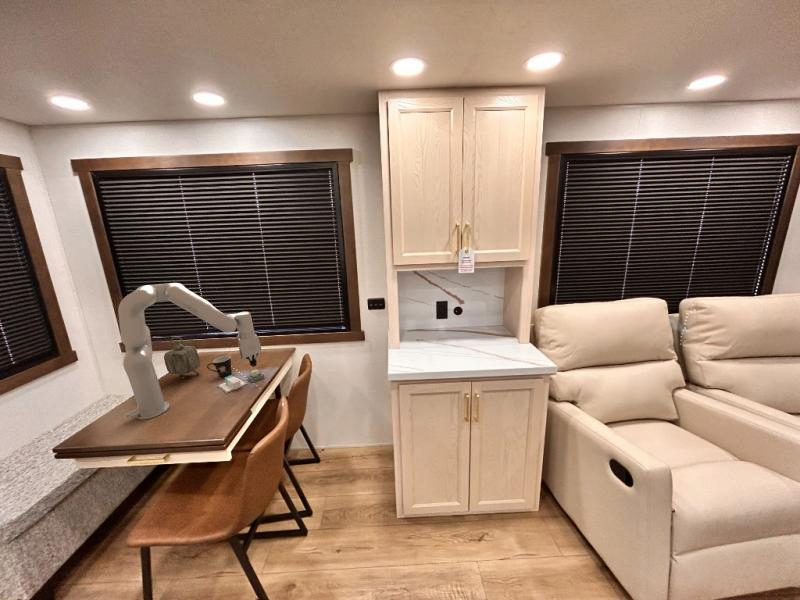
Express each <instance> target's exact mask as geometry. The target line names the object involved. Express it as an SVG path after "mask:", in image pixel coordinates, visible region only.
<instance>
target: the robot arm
mask: <svg viewBox="0 0 800 600" xmlns="http://www.w3.org/2000/svg"><path fill="white" fill-rule="evenodd" d="M163 302H171V303H173V304H174V305H176V306H177V307H179V308H181V309H183V310H185V311H187V312H189V313H190V314H192V315H194V316H196V317H197V318H198V319H200V320H202V321H204V322H206V324H207V323H208V324H209V325H211V326H212V327H214V328H216V329H218V330H219V331H222V332H224V333H228V334H229V333H234V332H235V331H236V330H237V332H238V333H237V335H236V336H235V337H236V339H238V350H239V355H240V359H241V360H248V361H249V365H250V366H251V367H257V363H258V362H257V358H258V355H260V354H261V353H262V351H263V349H262V345H261V342H260V340H259V337H258V335H257V334H256V333H255V328H254V324H253V320H252V315H251V312H249V311H241V312H238V313H231V314H225V313H223V312H221V310H219V309H217V308H216V307H215V306H213V304H212V303H210V302H209V301H208V300H207V299H205V298H203V297H201V296H200V295H199V294H197V293H195V292H193V291H191V290H189V289H188V288H187V287H185V285H184V284H182V283H180V282H179V283H178V282H172V283H171V282H169V283H159V284H146V285H142V286H139V287H137V288H136V289H135V290H134V291H132V292H131V293H129V294H127V295H126V296H125V297H124V298H122V299H121V301H120V303H119V305H118V322H119V329H120V330H119V331H120V340H121V342H122V344H123V345H124V347H125V356H124V358H123V361H122V367H123V369H124V371H125V373H126V376H127V378H128V381H129V383H130V387H131V389H132V392H133V396H134V399H135V402H136V404H137V406H136V408H135V409H133V410H131V411H129V412H125V416H126V418H133V417H136V419H137V420H140V421H141V420H149V419H153V418H155V417H158V416H160V415H162V414H164V413H166V411H168V410H169V409H170V407H171V405H170V402H168V401H165V398H164V395H163V392H162V389H161V386H160V385H161V384H160V382H159V379H158V375H157V372H156V369H155V366H154V364H153V347H152V345H153V344H152V338H151V330H150V328H149V326H147V324H146V317H145V310H146V309H147V308H148V307H151V306H152V305H154V304H155V303H163Z"/></svg>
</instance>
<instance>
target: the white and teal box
mask: <svg viewBox="0 0 800 600" xmlns="http://www.w3.org/2000/svg"><path fill="white" fill-rule="evenodd" d="M224 381H225V382H226V384H227V385H229V386H230V387H232V388H233V389H234V391H236V390H238V389H240V388H239V387H241V382H240V380H238V379H237V377H235V376H233V375H232V374H231V375H230V376H228V377H224ZM237 388H238V389H237ZM241 388H242V387H241ZM235 389H236V390H235Z"/></svg>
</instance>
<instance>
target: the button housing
mask: <svg viewBox="0 0 800 600" xmlns="http://www.w3.org/2000/svg"><path fill="white" fill-rule="evenodd" d="M246 379H247V381H249V382H250V383H256V382H259V381H260V380H263V379H265V374H264V373H262V372H260V371H259V376H257V377H255V378H252V377H251V374H249V375H246Z"/></svg>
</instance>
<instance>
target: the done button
mask: <svg viewBox="0 0 800 600" xmlns="http://www.w3.org/2000/svg"><path fill="white" fill-rule="evenodd" d="M259 372H260V371H259V369H253V370H251V371H250V375H251V377H252V378H255V377H257V376H259Z"/></svg>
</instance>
